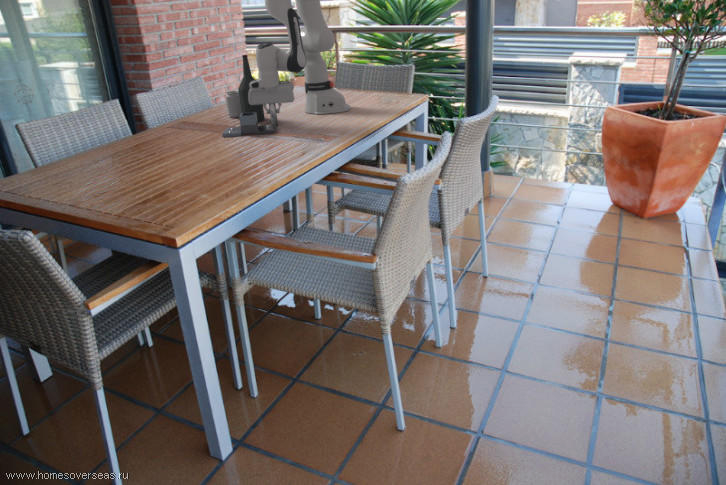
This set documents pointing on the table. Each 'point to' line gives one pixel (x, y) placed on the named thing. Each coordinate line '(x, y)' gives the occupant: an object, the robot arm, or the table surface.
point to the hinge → (249, 126)
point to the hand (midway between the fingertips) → (273, 113)
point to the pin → (273, 114)
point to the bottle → (244, 91)
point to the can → (233, 104)
